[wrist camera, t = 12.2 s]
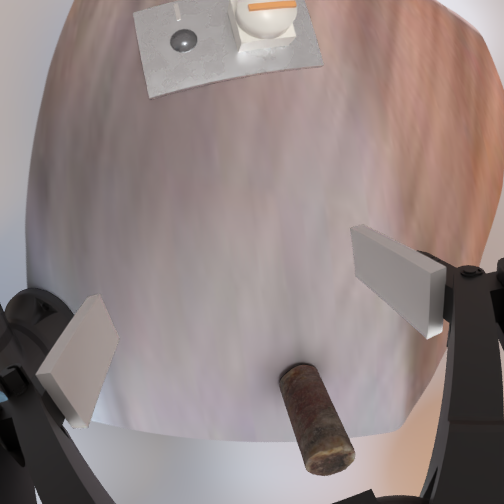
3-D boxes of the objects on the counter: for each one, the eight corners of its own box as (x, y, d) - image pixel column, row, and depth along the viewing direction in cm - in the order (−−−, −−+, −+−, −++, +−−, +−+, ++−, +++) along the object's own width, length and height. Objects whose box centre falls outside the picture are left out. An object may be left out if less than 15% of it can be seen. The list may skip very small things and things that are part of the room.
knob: (238, 52, 36) (245, 33, 28) (227, 10, 33) (232, -15, 26) (288, 45, 36) (304, 27, 29) (276, 4, 34) (290, -19, 27)
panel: (150, 99, 37) (145, 94, 33) (134, 16, 33) (128, 4, 29) (320, 67, 39) (331, 59, 35) (297, -11, 34) (305, -24, 30)
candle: (292, 399, 55) (324, 482, 36) (268, 380, 53) (296, 470, 34) (325, 375, 54) (367, 455, 35) (302, 355, 52) (344, 440, 33)
